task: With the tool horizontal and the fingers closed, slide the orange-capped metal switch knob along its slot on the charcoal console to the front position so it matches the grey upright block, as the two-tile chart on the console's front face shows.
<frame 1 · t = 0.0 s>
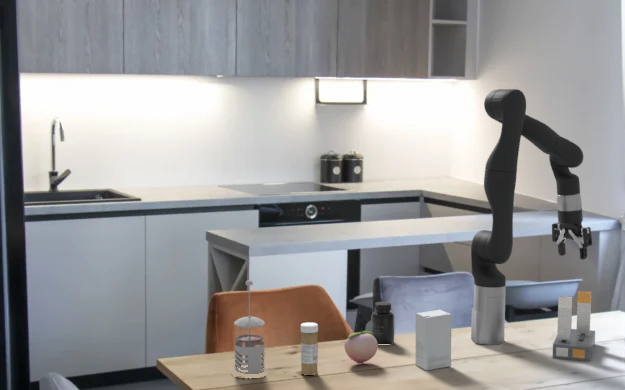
hand: (572, 257, 295), 22 cm above the table, tool pointing down, fingers open, 8 cm apart
french press: (248, 373, 244), on the table
skincare box: (432, 367, 251), on the table
supplement bottle: (382, 343, 275), on the table
console: (574, 350, 267), on the table
grey upright block: (564, 317, 262), point 11 cm above the table, slide at 0.0 cm
knob orange: (583, 312, 269), point 11 cm above the table, slide at 0.0 cm
sprinkles bottle: (309, 374, 244), on the table
decorative fruit: (361, 365, 253), on the table
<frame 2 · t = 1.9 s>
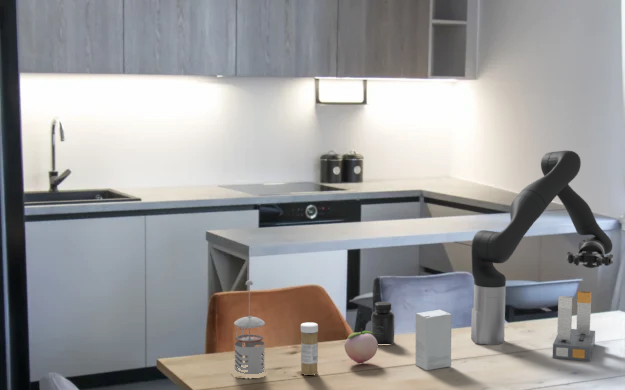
hand: (587, 262, 275), 24 cm above the table, tool horizontal, fingers open, 5 cm apart
nothing on the table moved.
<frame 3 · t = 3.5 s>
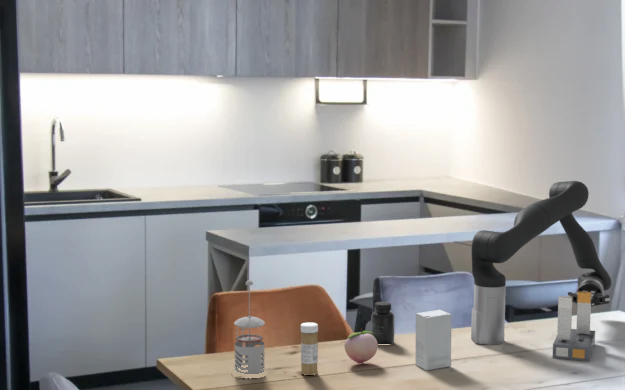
hand: (586, 303, 276), 12 cm above the table, tool horizontal, fingers closed
nothing on the table moved.
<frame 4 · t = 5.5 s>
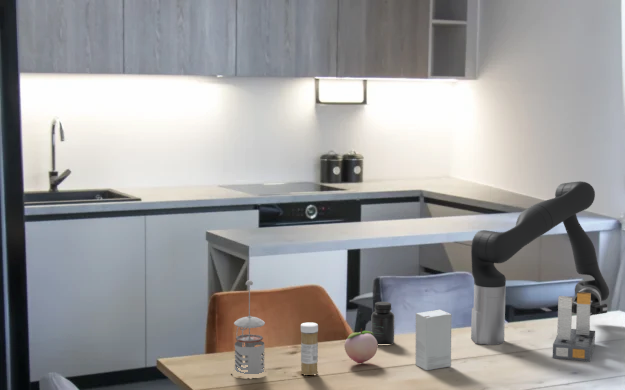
hand: (583, 313, 269), 11 cm above the table, tool horizontal, fingers closed
knob orange: (583, 313, 268), point 11 cm above the table, slide at 1.6 cm, touching gripper
everything else where it was.
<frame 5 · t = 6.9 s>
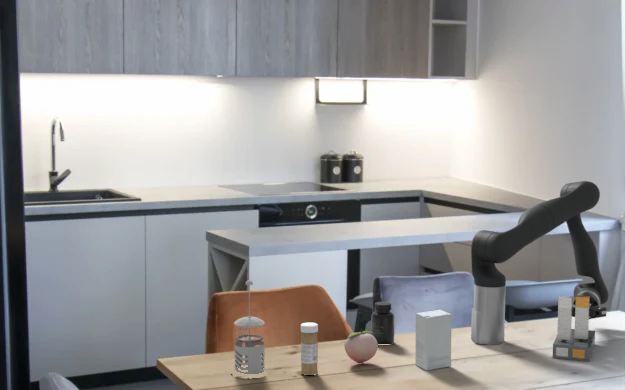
hand: (582, 316, 264), 11 cm above the table, tool horizontal, fingers closed
knob orange: (581, 317, 263), point 11 cm above the table, slide at 6.5 cm, touching gripper
everything else where it was.
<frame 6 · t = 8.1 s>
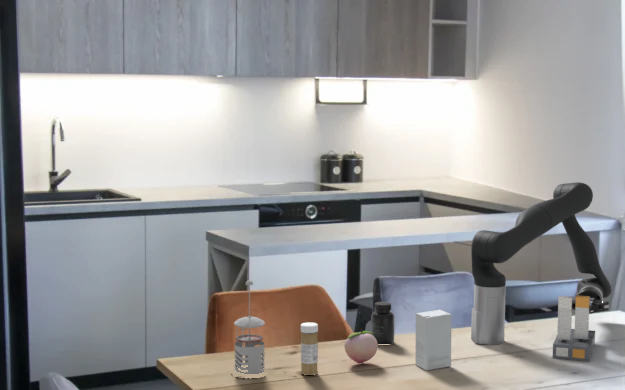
hand: (585, 310, 272), 10 cm above the table, tool horizontal, fingers closed
knob orange: (581, 317, 263), point 11 cm above the table, slide at 6.5 cm
everything else where it was.
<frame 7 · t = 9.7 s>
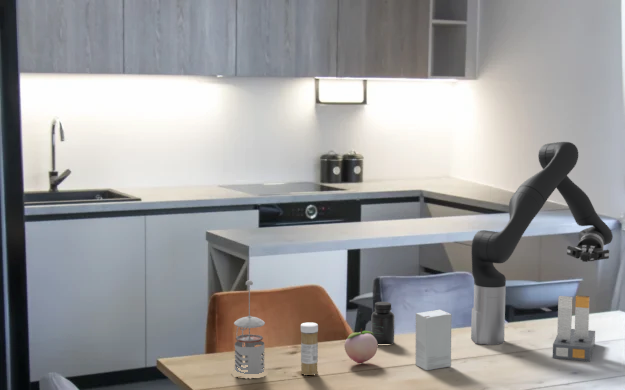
hand: (585, 258, 273), 26 cm above the table, tool horizontal, fingers closed
nothing on the table moved.
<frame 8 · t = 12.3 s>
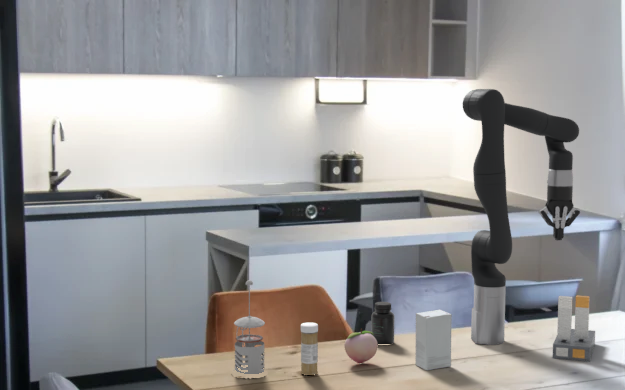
hand: (558, 240, 286), 29 cm above the table, tool pointing down, fingers closed
nothing on the table moved.
at the end: knob orange slide at 6.5 cm; grey upright block slide at 0.0 cm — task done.
